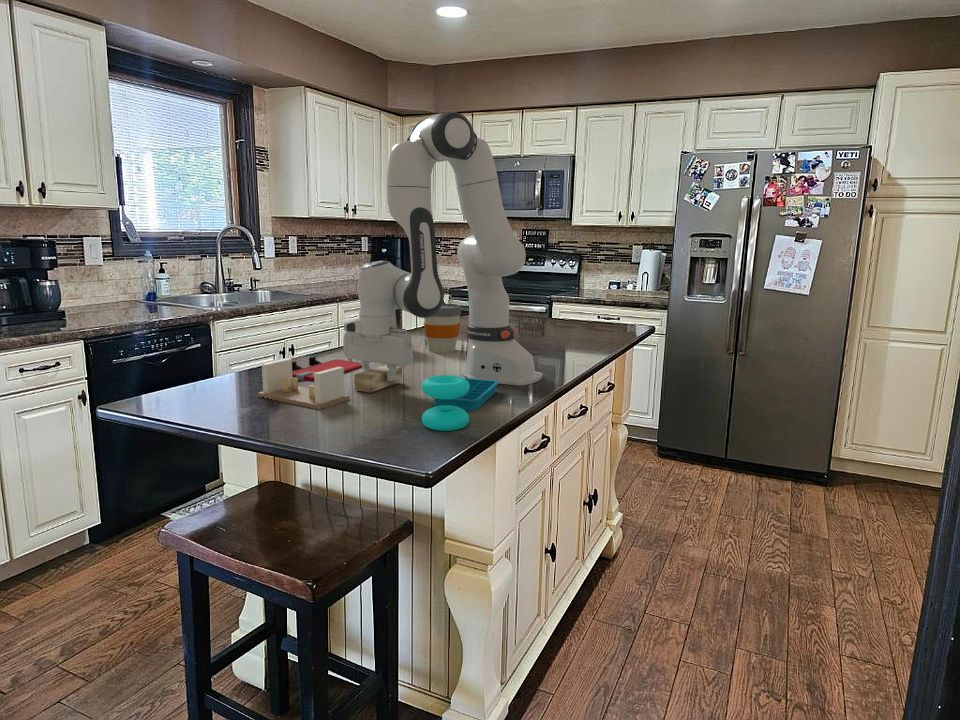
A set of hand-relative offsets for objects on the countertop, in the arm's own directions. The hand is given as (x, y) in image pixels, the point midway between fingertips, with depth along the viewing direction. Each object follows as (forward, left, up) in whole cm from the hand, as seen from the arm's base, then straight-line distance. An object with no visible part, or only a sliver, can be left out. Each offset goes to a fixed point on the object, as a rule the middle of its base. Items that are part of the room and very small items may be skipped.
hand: (378, 378), depth 165 cm
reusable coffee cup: (+13, -50, -2) cm, 51 cm away
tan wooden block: (0, 0, -2) cm, 2 cm away
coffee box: (+27, -41, -2) cm, 49 cm away
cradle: (+8, +18, -2) cm, 20 cm away
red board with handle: (+25, -2, -3) cm, 25 cm away
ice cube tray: (-25, -3, -3) cm, 25 cm away
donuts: (-32, +17, -2) cm, 36 cm away
